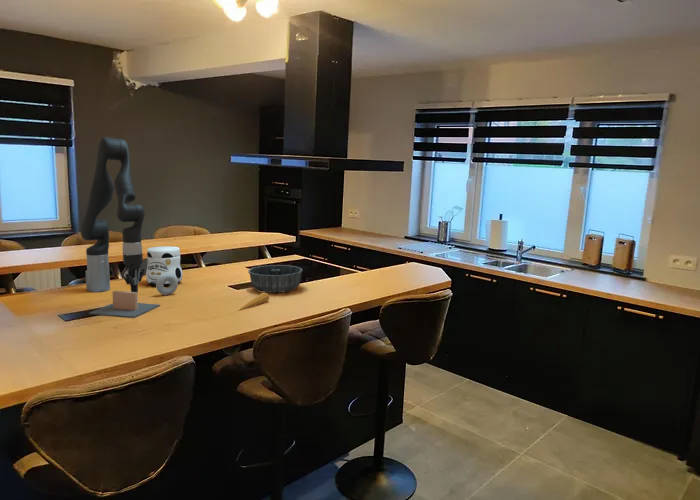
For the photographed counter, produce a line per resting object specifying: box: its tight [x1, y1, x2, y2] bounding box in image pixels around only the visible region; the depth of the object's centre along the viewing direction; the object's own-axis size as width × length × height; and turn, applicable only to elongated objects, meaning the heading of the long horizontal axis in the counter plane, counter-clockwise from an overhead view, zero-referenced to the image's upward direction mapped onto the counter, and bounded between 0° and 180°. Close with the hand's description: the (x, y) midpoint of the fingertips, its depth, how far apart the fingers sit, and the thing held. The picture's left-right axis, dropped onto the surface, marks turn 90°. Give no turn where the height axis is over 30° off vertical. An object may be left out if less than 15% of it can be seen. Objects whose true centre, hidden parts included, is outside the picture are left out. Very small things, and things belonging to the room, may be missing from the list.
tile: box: [112, 290, 139, 310], centre depth 206 cm, size 10×2×7 cm, turn 79°
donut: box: [155, 274, 179, 296], centre depth 232 cm, size 10×3×10 cm, turn 130°
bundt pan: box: [247, 264, 303, 294], centre depth 247 cm, size 26×26×10 cm
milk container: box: [145, 245, 184, 286], centre depth 253 cm, size 17×17×18 cm
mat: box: [88, 302, 161, 319], centre depth 207 cm, size 20×18×1 cm
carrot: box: [238, 292, 270, 311], centre depth 217 cm, size 20×4×4 cm, turn 152°
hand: (134, 293), depth 212 cm, fingers closed
